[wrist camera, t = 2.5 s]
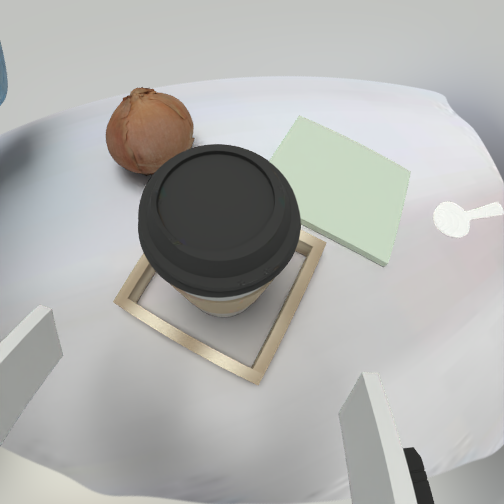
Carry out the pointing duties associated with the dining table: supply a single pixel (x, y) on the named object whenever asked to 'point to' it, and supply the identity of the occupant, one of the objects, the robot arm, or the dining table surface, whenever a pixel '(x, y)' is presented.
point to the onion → (148, 130)
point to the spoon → (461, 217)
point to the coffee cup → (219, 226)
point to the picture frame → (128, 301)
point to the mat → (343, 188)
